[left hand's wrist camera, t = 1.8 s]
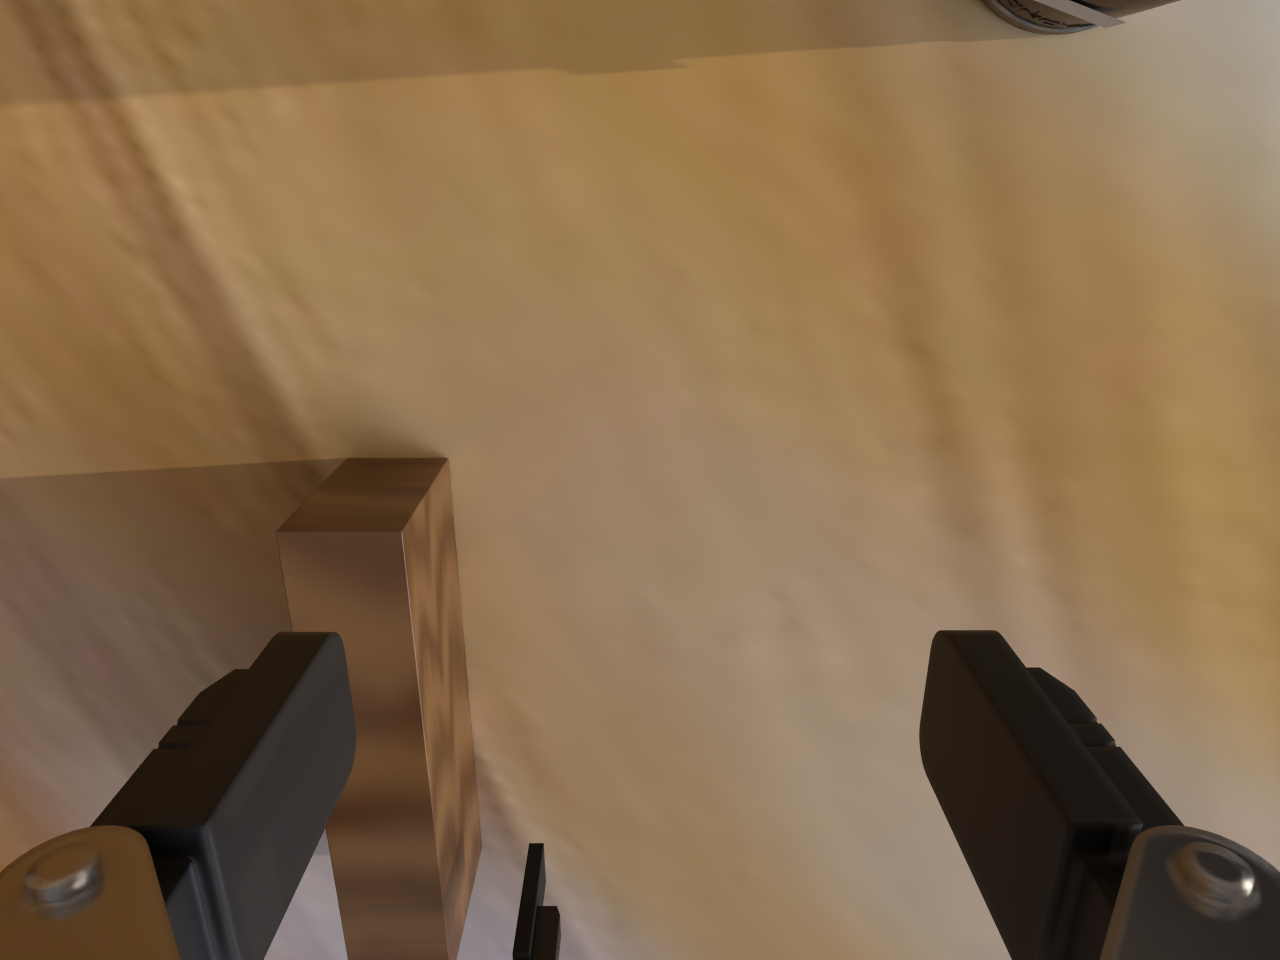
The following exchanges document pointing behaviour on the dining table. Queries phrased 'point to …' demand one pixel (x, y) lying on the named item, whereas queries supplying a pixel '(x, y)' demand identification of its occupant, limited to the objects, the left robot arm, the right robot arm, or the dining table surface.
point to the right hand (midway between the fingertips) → (409, 862)
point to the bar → (394, 700)
